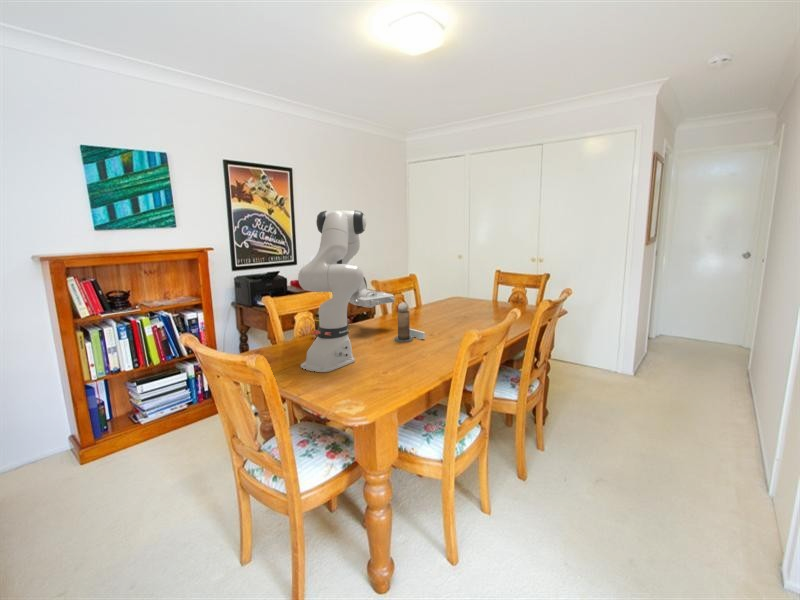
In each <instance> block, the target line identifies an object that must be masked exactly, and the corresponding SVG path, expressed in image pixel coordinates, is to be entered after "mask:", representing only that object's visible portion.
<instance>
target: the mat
mask: <svg viewBox="0 0 800 600" xmlns="http://www.w3.org/2000/svg"><path fill="white" fill-rule="evenodd" d="M393 340H394V341H395V342H397V343H409V341H410V342H412V340H413V341H414V337H411V336H410V339H408V340H400V339H398V336H395V337H394V339H393Z"/></svg>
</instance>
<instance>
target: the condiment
mask: <svg viewBox="0 0 800 600" xmlns="http://www.w3.org/2000/svg"><path fill="white" fill-rule="evenodd" d="M319 326H320V325H319V312H318V313H317V312H316V313H315V314H314V330H318V327H319ZM314 337H316V338H317V335H314Z"/></svg>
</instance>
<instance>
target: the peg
mask: <svg viewBox="0 0 800 600" xmlns="http://www.w3.org/2000/svg"><path fill="white" fill-rule="evenodd" d="M409 308H410V307H409V304H408V303H407V302H405V301H402V302H400V303H399V304H398V306H397V309H398V310H397V337H398V339H400V340H408V339H410V329H411V328H410V327H411V326H410V323H411V321H410V309H409Z"/></svg>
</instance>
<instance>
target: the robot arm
mask: <svg viewBox="0 0 800 600" xmlns="http://www.w3.org/2000/svg"><path fill="white" fill-rule="evenodd" d="M366 220H367V219H366V217H365V214H364V212H362V211H361V210H355V209H354V210H346V209H344V210H342V209H337V210H336V209H335V210H333V209H332V210H323V211H320V212H319V213H318V214H317V216H316V220H315V221H316V222H315V223H316V227H317V231H318V232H319V233H321V237H320V243H319V248H318V252H317V253H316V254H315V256H314V257H313V258H312V260H311V261H309V262H308V263H307V264H305V265H303V266H302V267H301V268H300V270H299V271H298V276H297V280H298V284H299V286H300V288H302V290H304V291H308V292H312V293H313V292H314V293H332V296H331V298H330V299H328V300H326V301H325V300H324V302H323V303H321V304H320V305H319V307H318V313H319V325H320V326H319V327H318V330H315V329H313V330H312V335H314V336H315V335H317V338H316V339H314V341H313V343H311V345H310V347H309V348H308V350H307V351H306V357H305V358H306V359H305V361H304V362H301V364H300V368H301V369H302V368H303V369H302V370H305V369H306V371H309V372H310V371H311V372H314V371H315V372H317V373H330V372H332V371H335V370H338V369H340V368H342V367H345V366H347V365H349V364H352V363H355V362H356V358H355V357H354V355H353V350H352V343H351V342H352V341H351V340H350V337H349V333H350V332H349V324H348V306H349V303H350V304H351V305H354V306H359V307H364V308H368V309H369V308H371V309H372V308H374V307H376V306H379V305H386V304H391V303H392V304H393V303H396V298H395V295H394V294H392V293H389V292H388V293H387V292H384V291H381V290H376V291H375V290H369V289H368V283H367V280H366V277H365V276H364V272H363V270H362V269H361V268H360V266H359V265H355V264H349V262H350V260H352V259H353V258H354V257H355V256H356V255H357V253H358V252H359V250H360V247H361V246H360V245H361V241H360V235H361V234H363V233H364V232H365V231H366V226H367V221H366ZM315 372H314V373H315Z"/></svg>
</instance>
